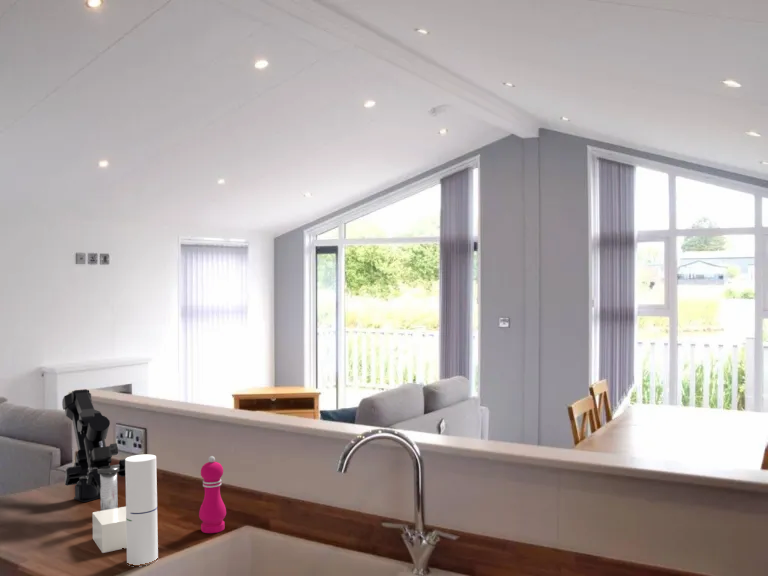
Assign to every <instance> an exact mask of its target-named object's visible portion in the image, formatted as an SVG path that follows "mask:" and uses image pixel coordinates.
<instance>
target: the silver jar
mask: <svg viewBox="0 0 768 576" xmlns="http://www.w3.org/2000/svg"><path fill="white" fill-rule="evenodd" d="M115 465H116V464H113V465H110V466H103V467H100V468H98V474H100V492H101V494H100V495H101V498H100V511H103V510H109V509H114V508H119V507H118V505H119V504H118V501H119V499H118V472H119V466H115Z"/></svg>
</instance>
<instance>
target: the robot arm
mask: <svg viewBox="0 0 768 576" xmlns="http://www.w3.org/2000/svg"><path fill="white" fill-rule="evenodd" d="M92 400H93V399H92V393H91V392H90V390H89V389H87V388H84V389H74V390H72V391H71V392H70V393H68V394H66V395H64V396H63V398H62V402H61V404H62V409H63V410H62V411H64V413H65V416H66V417H67V418H69V420H71V421H72V424H73V425H72V426H73V430H74V435H75V440H76V445H77V454H76V457H75V461H74V463H73V466H68V467H67V468H65V473H64V484H65V485H64V486H73V485H75V486H74V497H73V499H74V500H76V501H79V502H83V503H87V502H90V501H94V500H98V499H101V492H100V474H98V468H100V467H103V466H111V465H110V464H112V458H113V457H114V456H118V454H119V448H118V443H116V442H115V443H110V444H109V445H108V446H107V444H106V439H107V437H108V433H109V429H110V425H111V424H110V423H111V422H110V420H109V418H108V417H107V416H105V415H103V414H102V412H101V411H99V410H97V409H95V407H94V405H93V404H94V403H92ZM125 459H126V458H123V459H119V461H118V464H114V465H115V466H119V472H117V476H119V477H121V478H123V477H125Z"/></svg>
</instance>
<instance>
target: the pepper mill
mask: <svg viewBox="0 0 768 576" xmlns="http://www.w3.org/2000/svg"><path fill="white" fill-rule="evenodd" d="M223 475H224V467H223V466H222V464H221V463H220V462H217V461H216V458H215V456H213V455H211V456H209V457H208V462H206V463H204V464H203V465H202V466H201V468H200V476H201V478H202V479H203V480H202V487H203V488H204V497H203V500H202V502H201V505H200V508H199V511H198V518H199V519H200V521H202V522H201V523H200V530H201V532H202V533H203V534H204V533H205V534H217V533H221V532H223V531H224V530H225V526H226V525H225V521H224V519H225V518H226V517H227V516H226V515H227V508H226V504H225V503H224V501H223V498H222V496H221V486H222V479H221V477H223Z"/></svg>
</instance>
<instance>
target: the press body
mask: <svg viewBox="0 0 768 576" xmlns="http://www.w3.org/2000/svg"><path fill="white" fill-rule="evenodd" d="M91 517H92V539H93V541H94V542H95V544H96V546H97V547H98V549H99V551H101V553H102V554H104V553H105V554H106V553H109V552H113V551H118V550H123V549H122V548H124V549H127V536H126V505H125V506H121V507H120V506H119V507H118V508H114V509H109V510H103V511H101V510H98V511H94V512H92V516H91Z"/></svg>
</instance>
